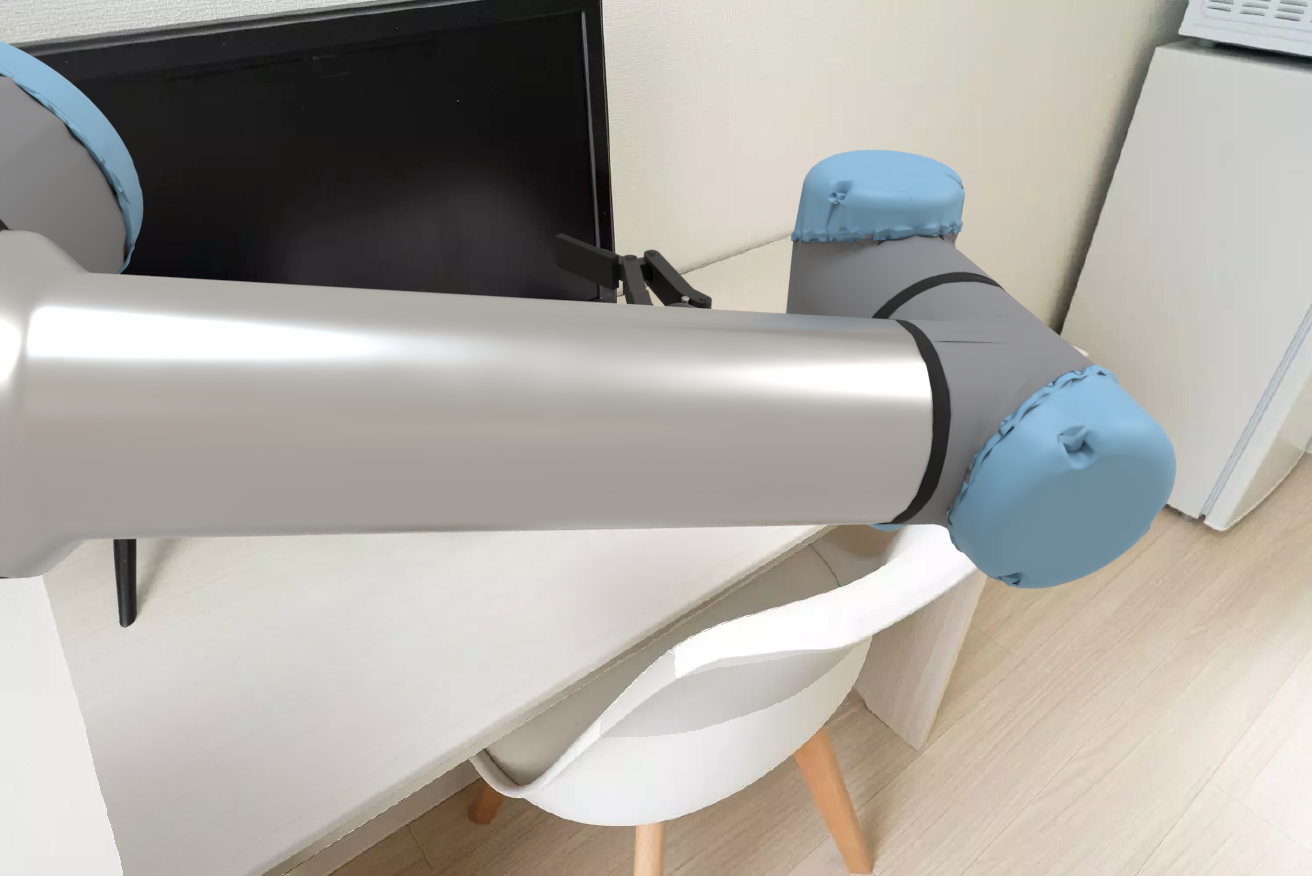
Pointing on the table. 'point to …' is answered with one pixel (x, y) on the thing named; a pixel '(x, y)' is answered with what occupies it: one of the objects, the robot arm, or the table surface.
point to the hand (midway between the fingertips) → (493, 276)
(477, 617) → the table surface
